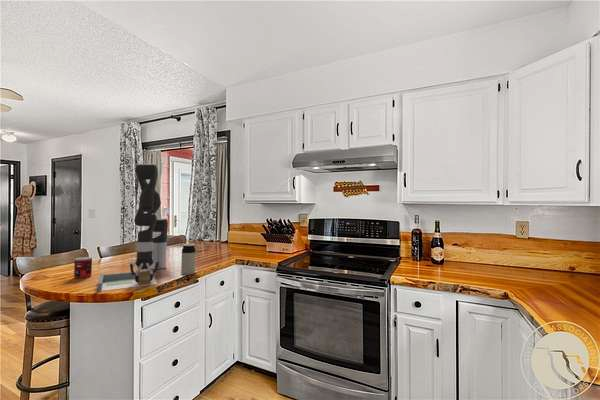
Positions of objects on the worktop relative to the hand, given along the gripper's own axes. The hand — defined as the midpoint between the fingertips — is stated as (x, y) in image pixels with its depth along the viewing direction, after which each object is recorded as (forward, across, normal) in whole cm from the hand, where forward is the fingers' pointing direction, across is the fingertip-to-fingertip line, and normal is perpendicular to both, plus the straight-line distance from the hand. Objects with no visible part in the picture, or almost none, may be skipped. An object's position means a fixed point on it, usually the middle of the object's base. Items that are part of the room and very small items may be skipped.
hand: (143, 281), depth 152 cm
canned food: (+1, +29, -31) cm, 42 cm away
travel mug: (+1, -25, -13) cm, 28 cm away
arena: (+1, +7, -4) cm, 8 cm away
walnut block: (+1, 0, 0) cm, 1 cm away
